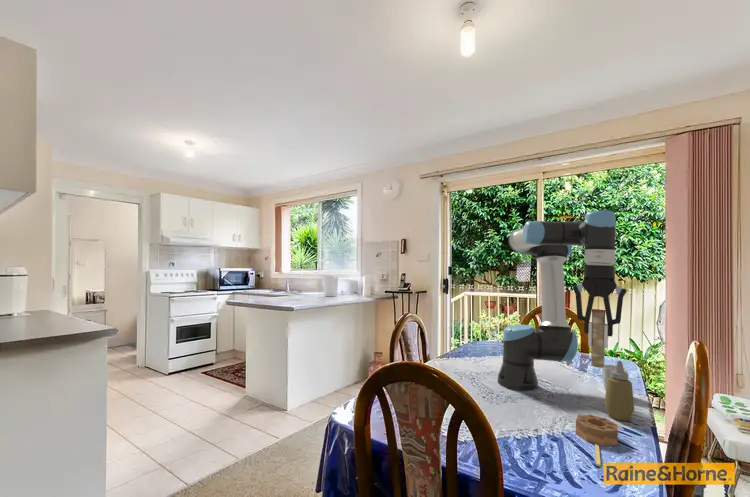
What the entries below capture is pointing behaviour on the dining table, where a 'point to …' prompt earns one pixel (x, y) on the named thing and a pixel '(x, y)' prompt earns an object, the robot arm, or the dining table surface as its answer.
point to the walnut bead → (597, 430)
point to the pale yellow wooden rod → (597, 455)
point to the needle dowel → (598, 338)
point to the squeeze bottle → (619, 395)
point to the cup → (608, 373)
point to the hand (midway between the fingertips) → (598, 346)
